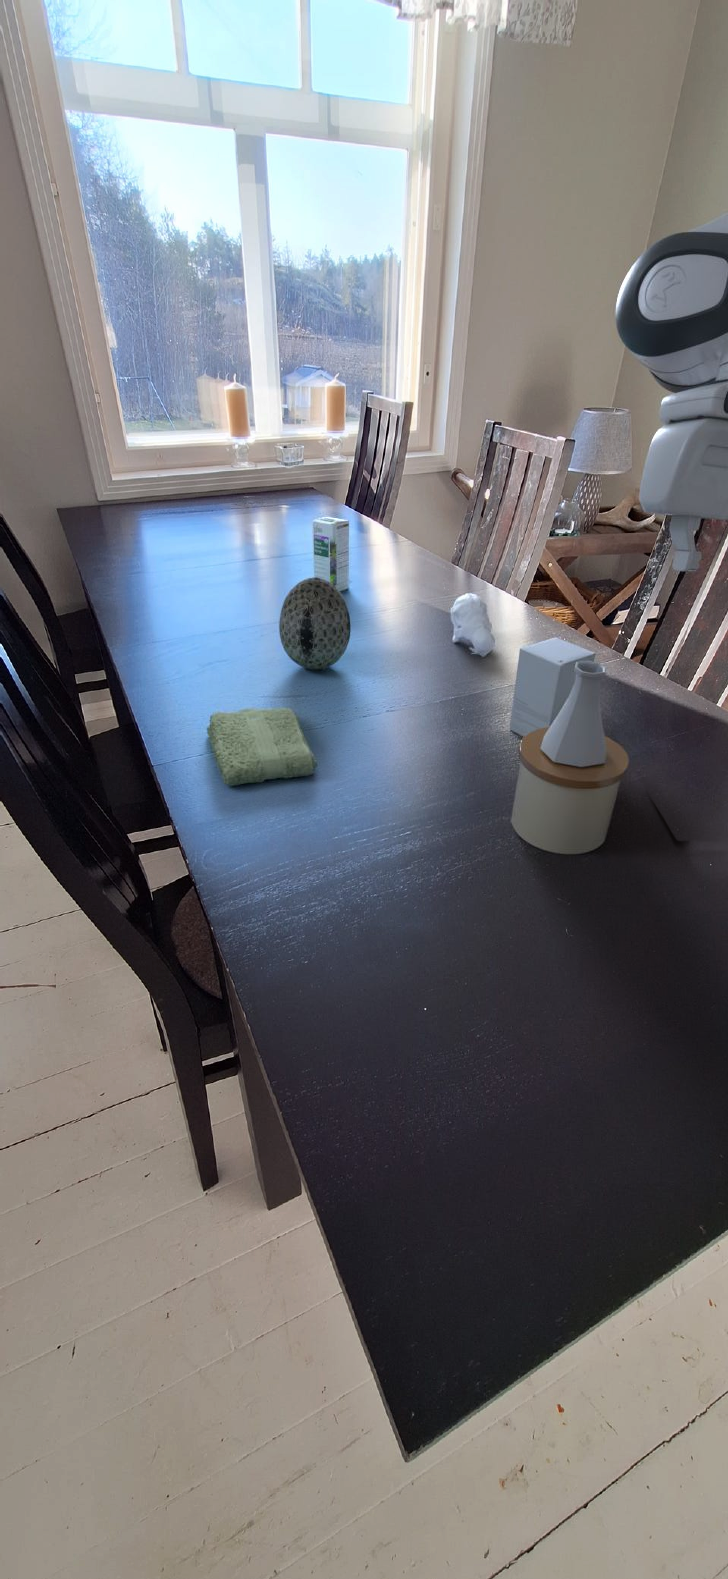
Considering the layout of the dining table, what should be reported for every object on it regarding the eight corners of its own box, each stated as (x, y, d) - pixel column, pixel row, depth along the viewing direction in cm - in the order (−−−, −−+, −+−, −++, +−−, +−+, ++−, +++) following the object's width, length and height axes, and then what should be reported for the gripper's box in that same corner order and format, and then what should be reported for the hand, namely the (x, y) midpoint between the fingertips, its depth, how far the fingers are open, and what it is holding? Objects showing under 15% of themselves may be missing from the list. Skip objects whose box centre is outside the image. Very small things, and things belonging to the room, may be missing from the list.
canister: (593, 796, 86) (610, 726, 81) (622, 856, 77) (644, 781, 71) (500, 796, 86) (511, 725, 80) (518, 855, 77) (531, 780, 71)
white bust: (483, 588, 125) (510, 617, 116) (476, 631, 131) (502, 662, 122) (450, 590, 124) (475, 620, 115) (445, 634, 129) (468, 665, 121)
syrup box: (313, 589, 151) (310, 520, 143) (329, 583, 155) (328, 514, 147) (333, 595, 148) (333, 524, 140) (350, 587, 152) (350, 518, 144)
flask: (534, 734, 79) (548, 652, 73) (598, 735, 79) (617, 653, 73) (546, 768, 73) (562, 681, 67) (615, 770, 73) (637, 683, 67)
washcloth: (294, 716, 103) (293, 696, 101) (321, 779, 89) (320, 757, 87) (205, 727, 100) (202, 707, 98) (218, 794, 86) (215, 772, 84)
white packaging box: (581, 736, 99) (598, 653, 92) (544, 750, 95) (560, 665, 88) (542, 715, 104) (556, 635, 97) (506, 728, 100) (518, 646, 93)
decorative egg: (293, 650, 123) (288, 565, 115) (357, 656, 121) (357, 570, 113) (272, 677, 114) (266, 587, 105) (341, 684, 112) (341, 593, 103)
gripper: (819, 424, 66) (778, 575, 71) (646, 397, 59) (614, 565, 64) (884, 417, 61) (835, 581, 65) (701, 386, 54) (661, 571, 59)
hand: (724, 573), depth 65 cm, fingers open, 8 cm apart
